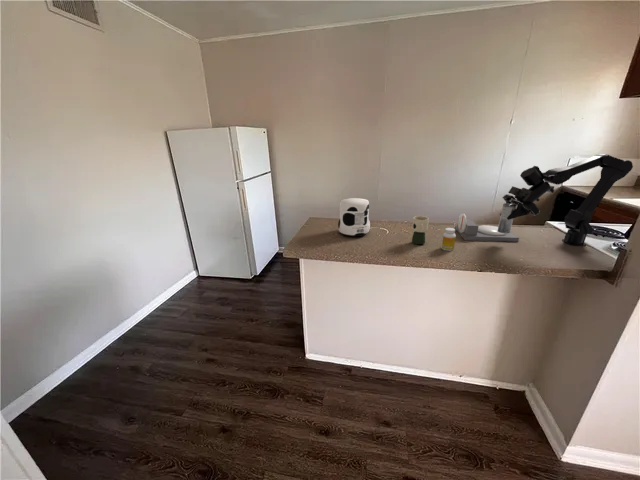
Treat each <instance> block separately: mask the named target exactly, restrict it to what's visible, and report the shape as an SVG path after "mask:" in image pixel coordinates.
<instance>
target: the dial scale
mask: <svg viewBox="0 0 640 480" xmlns="http://www.w3.org/2000/svg"><path fill="white" fill-rule="evenodd" d="M498 226H499V225H488V224H487V225H485V224H484V225H478V224H477V223H476V222H475V221H474V220H472V219H471V218H470V217H467V216H466V214H465V213H461V214H459V217H458V220H457V224H455V226H454V229H455V231H456V232H457V233H458V234H459V233H460V234H459V235H460V236H461V235H462V236H461V237H462V238H463V239H464V240H465V241H483V242H484V241H485V242H489V241H491V242H519V240H520V237H519V236H517V235H516V234H515V233H513V232H512V231H510V233H500V232H498Z"/></svg>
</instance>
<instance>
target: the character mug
mask: <svg viewBox="0 0 640 480" xmlns="http://www.w3.org/2000/svg"><path fill="white" fill-rule="evenodd" d="M429 220H430V218H429V217H427V216H423V215H415V216H413V217H412V225H411V230H412V232H413V231H414V232H413V234H412V237H411V243H412V244H414V245H423V244H426V232H427V231H428V228H429Z"/></svg>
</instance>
